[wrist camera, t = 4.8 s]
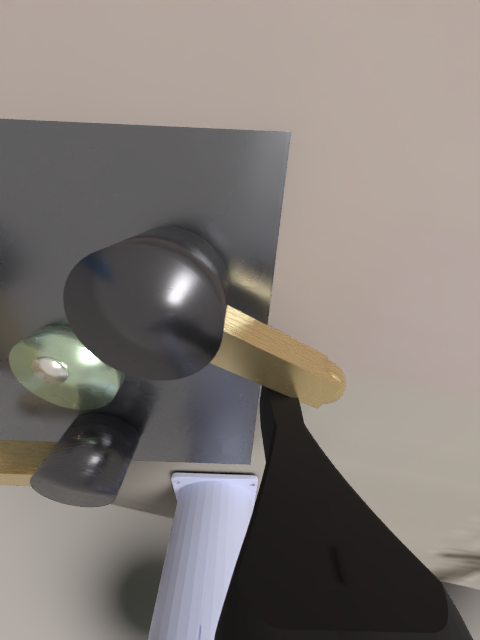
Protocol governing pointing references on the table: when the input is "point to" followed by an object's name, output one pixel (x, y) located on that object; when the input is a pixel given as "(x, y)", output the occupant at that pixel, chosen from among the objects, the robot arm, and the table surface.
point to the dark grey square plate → (112, 227)
